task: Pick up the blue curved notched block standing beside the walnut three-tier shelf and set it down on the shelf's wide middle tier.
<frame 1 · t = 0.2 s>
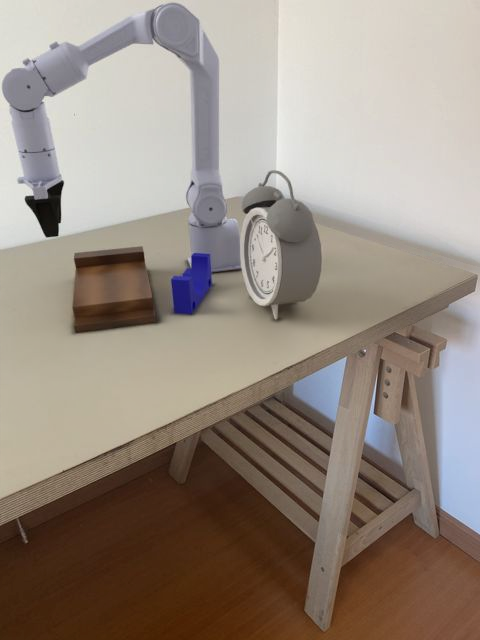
hand: (53, 229, 99), 10 cm above the table, tool pointing down, fingers open, 7 cm apart
alarm clock: (278, 306, 94), on the table
step shelf: (114, 297, 98), on the table
blue curved notched block: (190, 299, 97), on the table
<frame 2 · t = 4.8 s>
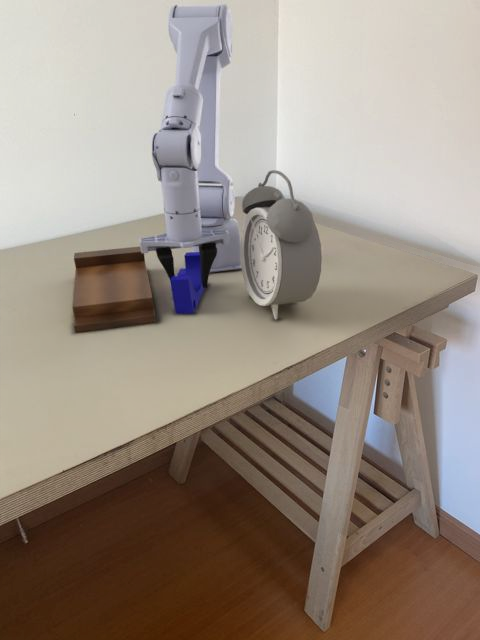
hand: (189, 287, 96), 2 cm above the table, tool pointing down, fingers closed on blue curved notched block, 4 cm apart
blue curved notched block: (188, 298, 97), on the table, touching gripper
everything else where it was.
when the fingers open (5 cm above the table, at t = 8.3 s): blue curved notched block stays where it is, resting on step shelf.
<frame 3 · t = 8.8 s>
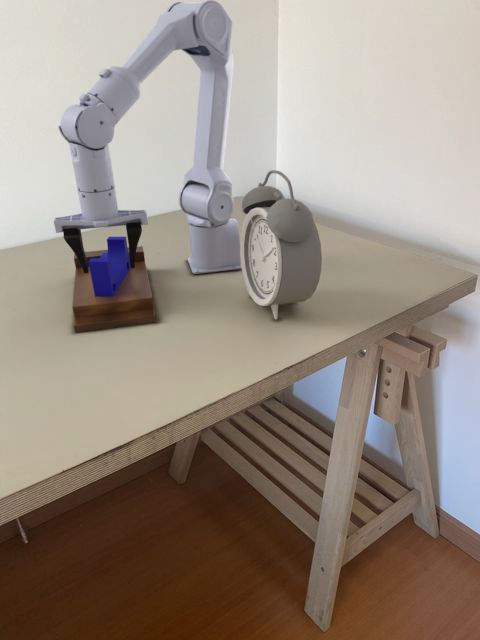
hand: (109, 268, 95), 5 cm above the table, tool pointing down, fingers open, 7 cm apart
blue curved notched block: (109, 282, 96), point 3 cm above the table, touching step shelf
everything else where it was.
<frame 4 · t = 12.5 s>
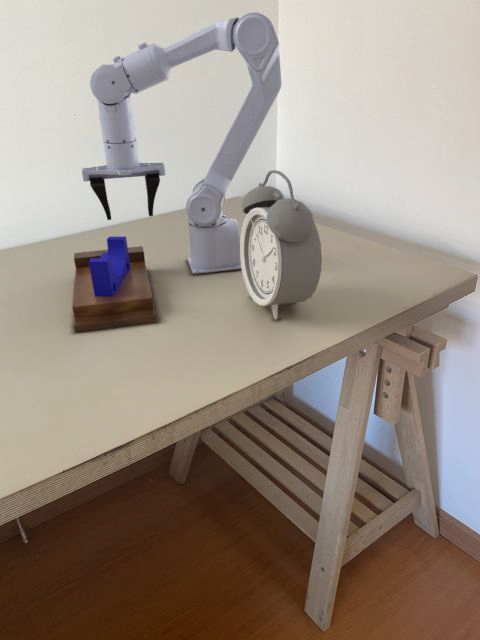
hand: (130, 216, 106), 10 cm above the table, tool pointing down, fingers open, 7 cm apart
nothing on the table moved.
at the end: blue curved notched block inside the target area on the step shelf (0.4 cm from its centre), point 2.8 cm above the step shelf's base; the gripper is holding nothing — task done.
